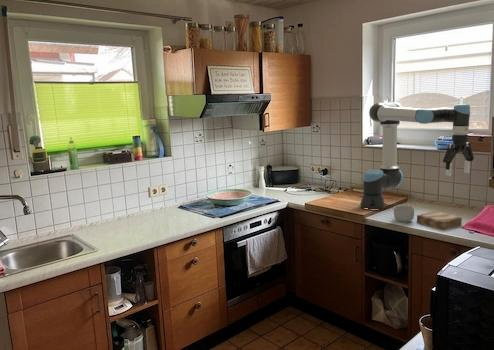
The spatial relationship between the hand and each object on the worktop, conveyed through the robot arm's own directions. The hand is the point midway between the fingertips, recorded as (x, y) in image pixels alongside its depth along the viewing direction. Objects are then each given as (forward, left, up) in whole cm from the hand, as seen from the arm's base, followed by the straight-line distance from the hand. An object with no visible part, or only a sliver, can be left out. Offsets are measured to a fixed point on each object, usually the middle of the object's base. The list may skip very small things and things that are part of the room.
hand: (457, 174), depth 220 cm
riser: (-4, -8, -27) cm, 28 cm away
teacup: (-19, -18, -27) cm, 38 cm away
